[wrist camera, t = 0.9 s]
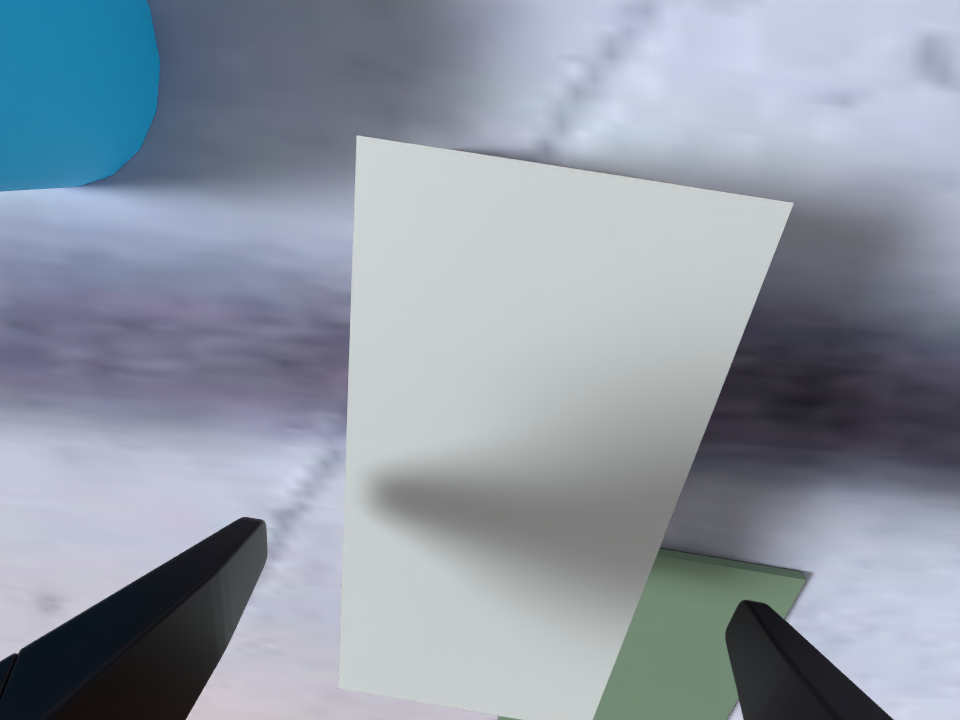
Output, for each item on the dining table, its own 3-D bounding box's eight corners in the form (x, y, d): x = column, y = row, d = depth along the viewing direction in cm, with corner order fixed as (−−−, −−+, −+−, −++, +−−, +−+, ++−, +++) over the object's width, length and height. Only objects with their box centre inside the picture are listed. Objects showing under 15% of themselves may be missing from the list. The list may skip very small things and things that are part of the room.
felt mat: (675, 794, 25) (677, 803, 24) (486, 761, 25) (486, 770, 24) (800, 571, 18) (806, 580, 18) (546, 529, 18) (547, 537, 18)
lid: (578, 654, 15) (588, 730, 13) (362, 617, 15) (338, 688, 13) (735, 193, 9) (794, 203, 7) (390, 140, 10) (356, 134, 8)
